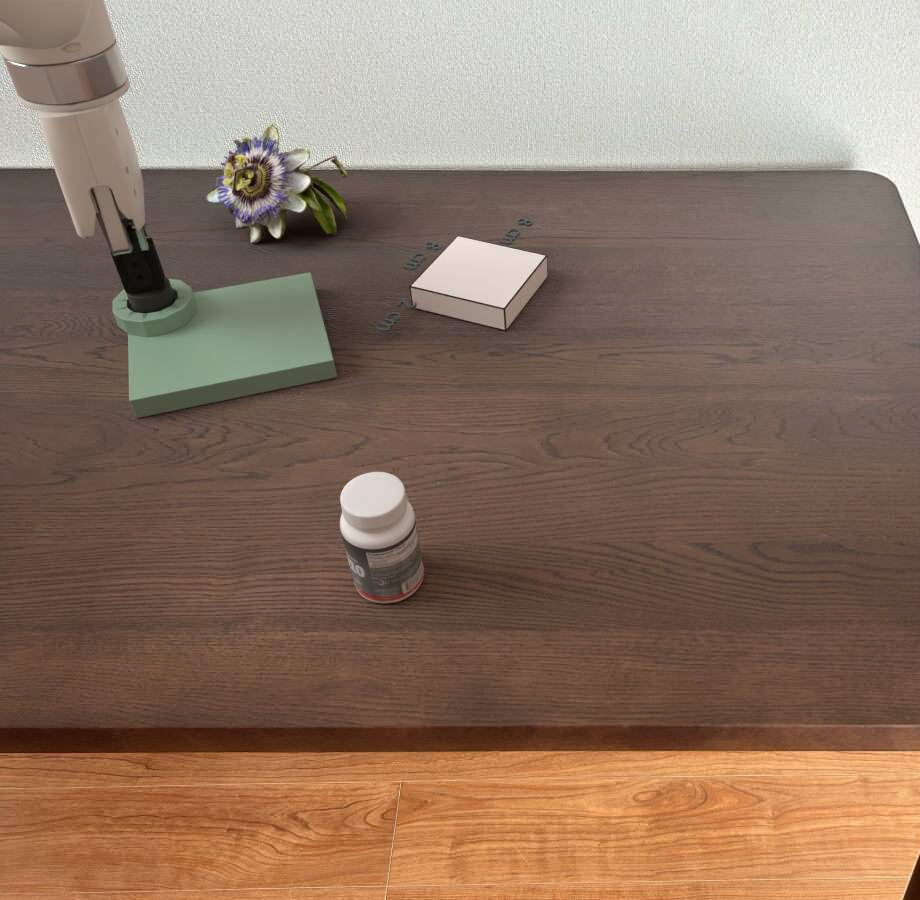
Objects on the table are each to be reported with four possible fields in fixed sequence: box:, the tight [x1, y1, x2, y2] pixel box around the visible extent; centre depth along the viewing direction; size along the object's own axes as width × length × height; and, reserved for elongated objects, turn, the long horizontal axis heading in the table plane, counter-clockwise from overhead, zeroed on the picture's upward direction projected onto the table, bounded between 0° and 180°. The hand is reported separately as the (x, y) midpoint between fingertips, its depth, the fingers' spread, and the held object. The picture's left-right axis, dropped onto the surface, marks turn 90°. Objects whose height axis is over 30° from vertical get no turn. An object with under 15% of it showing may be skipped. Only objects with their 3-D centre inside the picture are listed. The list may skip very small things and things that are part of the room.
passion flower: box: [205, 123, 348, 244], centre depth 97 cm, size 11×11×12 cm
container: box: [374, 217, 549, 333], centre depth 91 cm, size 20×12×3 cm, turn 159°
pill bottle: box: [339, 471, 425, 604], centre depth 63 cm, size 5×5×8 cm
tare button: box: [126, 276, 175, 314], centre depth 83 cm, size 4×4×2 cm
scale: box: [112, 271, 338, 419], centre depth 83 cm, size 17×15×4 cm
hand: (146, 285), depth 83 cm, fingers closed
